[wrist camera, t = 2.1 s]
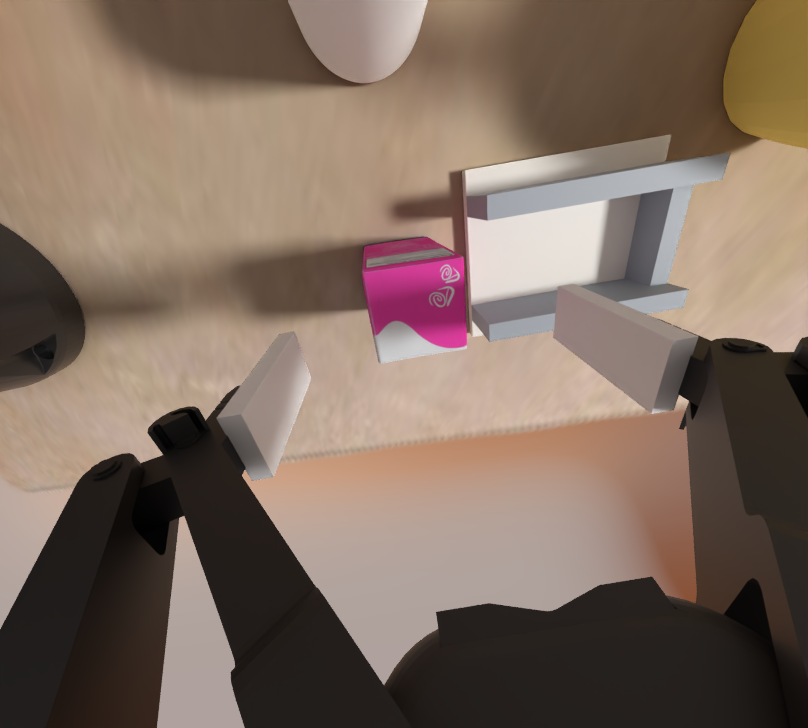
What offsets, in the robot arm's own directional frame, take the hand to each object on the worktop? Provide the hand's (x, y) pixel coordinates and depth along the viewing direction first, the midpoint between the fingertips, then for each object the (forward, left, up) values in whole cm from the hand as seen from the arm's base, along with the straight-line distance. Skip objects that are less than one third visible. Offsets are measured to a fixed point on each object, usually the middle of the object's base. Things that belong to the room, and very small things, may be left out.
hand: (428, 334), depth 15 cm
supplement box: (0, 0, -14) cm, 14 cm away
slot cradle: (+14, 0, -14) cm, 19 cm away
